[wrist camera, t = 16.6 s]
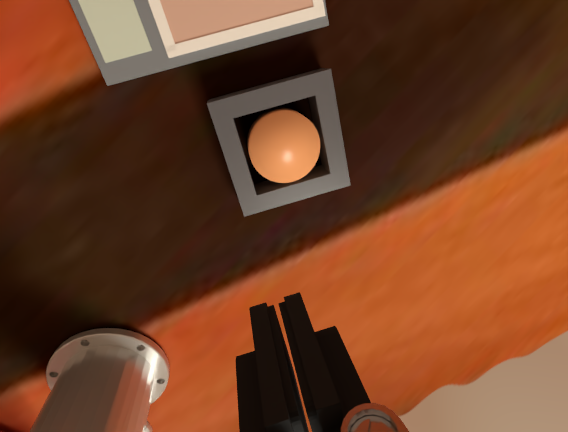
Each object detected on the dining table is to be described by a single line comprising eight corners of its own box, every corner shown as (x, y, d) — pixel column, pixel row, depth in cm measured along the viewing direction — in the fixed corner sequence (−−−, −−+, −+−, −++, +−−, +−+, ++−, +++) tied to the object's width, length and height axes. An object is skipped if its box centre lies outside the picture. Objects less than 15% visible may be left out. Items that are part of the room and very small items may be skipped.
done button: (319, 164, 32) (326, 171, 30) (257, 182, 32) (260, 191, 29) (305, 99, 29) (312, 102, 27) (238, 118, 29) (239, 122, 27)
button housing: (340, 175, 33) (350, 185, 31) (242, 203, 33) (244, 216, 30) (320, 68, 29) (330, 68, 26) (208, 99, 29) (206, 103, 26)
